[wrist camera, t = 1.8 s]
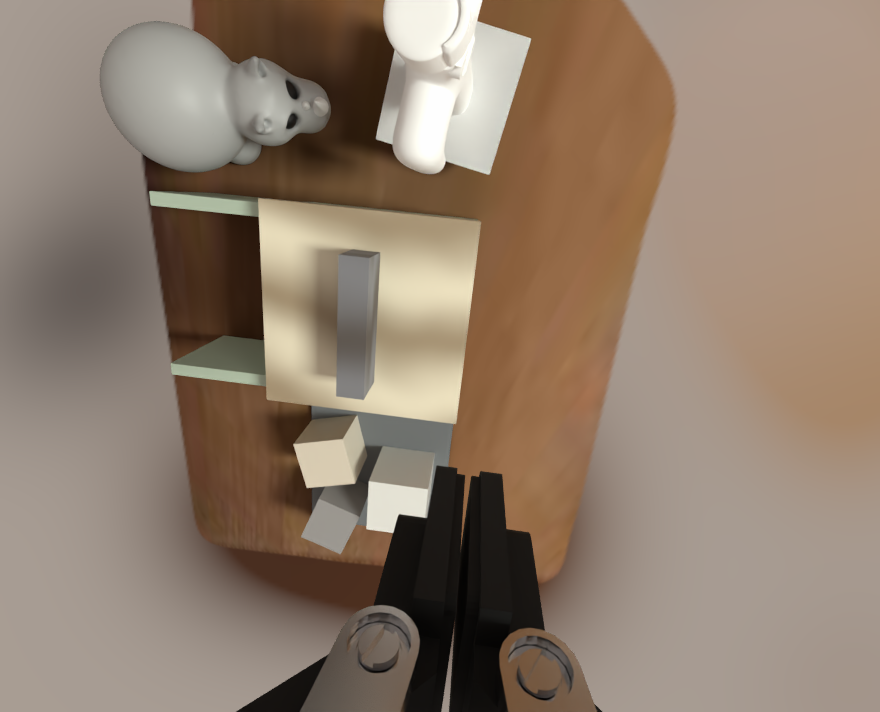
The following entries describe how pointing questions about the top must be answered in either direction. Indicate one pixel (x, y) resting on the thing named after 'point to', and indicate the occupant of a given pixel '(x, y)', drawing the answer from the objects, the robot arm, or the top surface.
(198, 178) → the top surface
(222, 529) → the top surface
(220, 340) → the bin
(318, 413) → the mat
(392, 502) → the white stacked cube
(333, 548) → the light grey cube
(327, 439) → the beige cube
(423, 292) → the lid
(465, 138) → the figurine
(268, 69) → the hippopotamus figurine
